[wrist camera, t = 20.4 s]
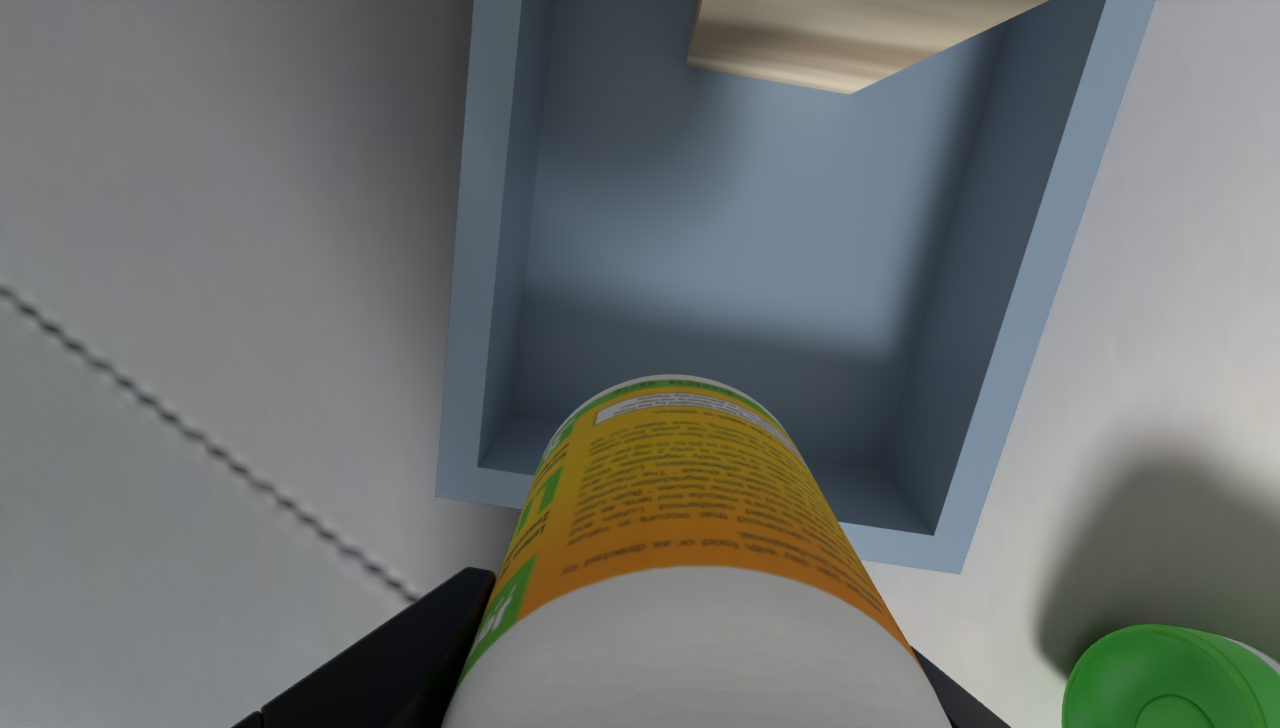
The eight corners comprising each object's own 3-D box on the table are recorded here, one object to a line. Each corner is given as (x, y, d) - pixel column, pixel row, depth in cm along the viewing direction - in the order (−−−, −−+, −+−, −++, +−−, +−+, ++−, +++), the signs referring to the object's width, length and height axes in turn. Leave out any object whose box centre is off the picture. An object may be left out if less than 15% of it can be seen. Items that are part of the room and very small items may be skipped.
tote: (890, 488, 21) (959, 574, 17) (484, 426, 21) (435, 496, 16) (1068, -119, 17) (1238, -245, 12) (546, -215, 16) (503, -385, 11)
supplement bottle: (535, 361, 12) (142, 1001, 3) (818, 373, 12) (1436, 1054, 3) (536, 603, 13) (287, 1563, 4) (787, 613, 13) (1112, 1595, 4)
